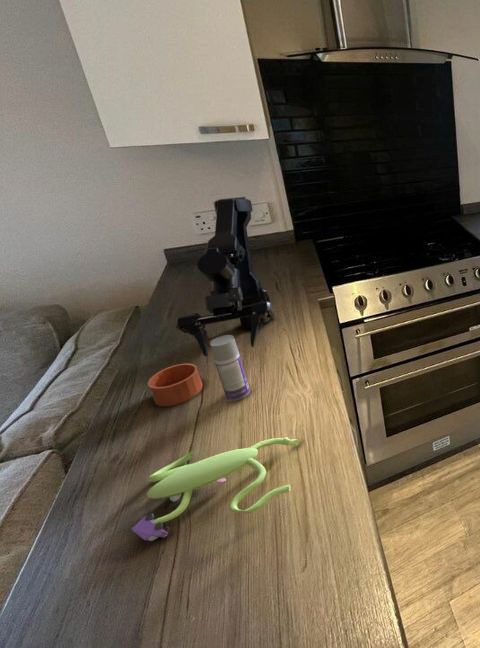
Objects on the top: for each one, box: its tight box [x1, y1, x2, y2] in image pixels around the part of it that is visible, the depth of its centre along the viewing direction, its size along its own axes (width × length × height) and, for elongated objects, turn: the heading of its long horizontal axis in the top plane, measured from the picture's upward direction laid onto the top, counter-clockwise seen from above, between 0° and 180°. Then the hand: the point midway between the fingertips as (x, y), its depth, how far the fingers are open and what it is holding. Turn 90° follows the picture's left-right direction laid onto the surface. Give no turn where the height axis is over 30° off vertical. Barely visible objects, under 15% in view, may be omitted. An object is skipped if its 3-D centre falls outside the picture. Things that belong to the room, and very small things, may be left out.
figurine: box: [131, 436, 301, 542], centre depth 78 cm, size 18×27×6 cm
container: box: [209, 334, 251, 402], centre depth 100 cm, size 5×5×15 cm
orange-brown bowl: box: [147, 363, 204, 407], centre depth 103 cm, size 9×9×5 cm
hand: (229, 351), depth 102 cm, fingers open, 9 cm apart
